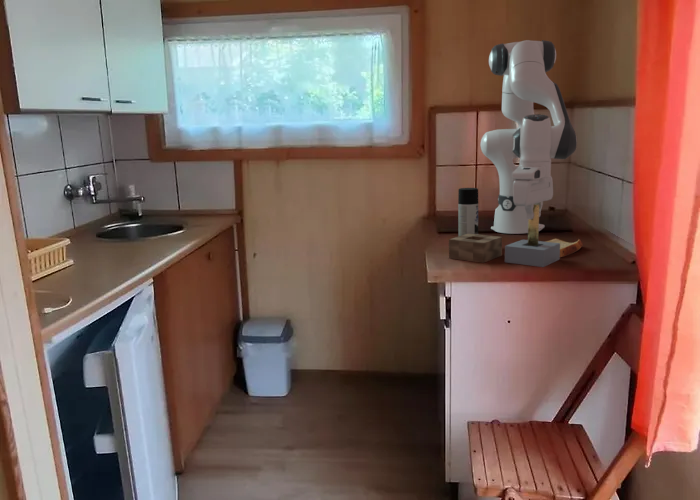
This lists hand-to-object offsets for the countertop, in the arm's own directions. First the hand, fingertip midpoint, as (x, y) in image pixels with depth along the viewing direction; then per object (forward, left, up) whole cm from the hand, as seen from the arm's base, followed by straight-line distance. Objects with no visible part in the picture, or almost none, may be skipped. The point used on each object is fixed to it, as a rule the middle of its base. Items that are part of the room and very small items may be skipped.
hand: (533, 218), depth 172 cm
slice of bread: (-18, +2, -14) cm, 23 cm away
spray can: (-9, -27, -13) cm, 31 cm away
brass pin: (0, 0, -8) cm, 8 cm away
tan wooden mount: (+4, -17, -13) cm, 22 cm away
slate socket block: (0, 0, -13) cm, 13 cm away
